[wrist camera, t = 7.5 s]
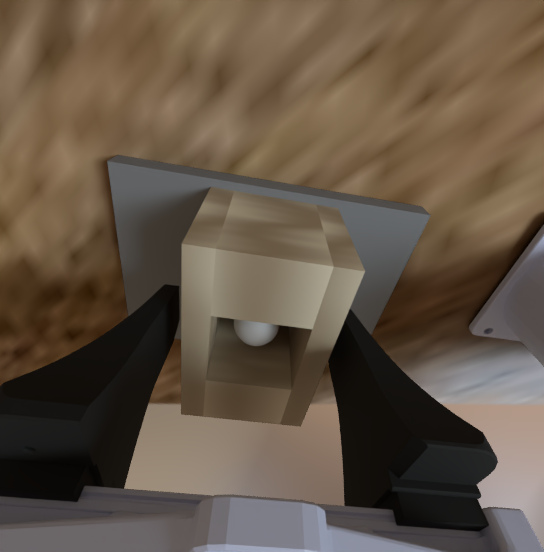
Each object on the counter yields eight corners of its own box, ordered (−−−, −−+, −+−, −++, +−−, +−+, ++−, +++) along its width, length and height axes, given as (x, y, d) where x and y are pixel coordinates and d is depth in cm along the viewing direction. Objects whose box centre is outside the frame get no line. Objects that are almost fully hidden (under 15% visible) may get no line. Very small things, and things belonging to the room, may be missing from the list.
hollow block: (338, 208, 14) (365, 271, 9) (295, 346, 19) (300, 426, 15) (211, 186, 13) (181, 243, 9) (202, 334, 18) (180, 414, 14)
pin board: (421, 206, 15) (479, 263, 10) (354, 348, 20) (374, 422, 16) (117, 154, 13) (47, 196, 9) (136, 321, 19) (98, 393, 15)
